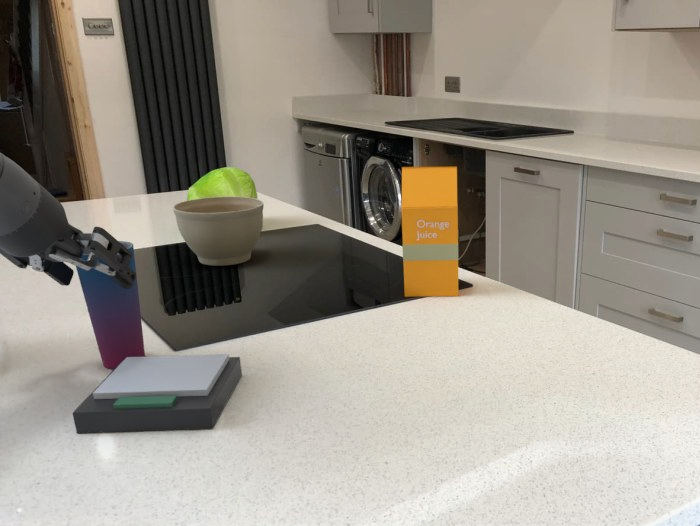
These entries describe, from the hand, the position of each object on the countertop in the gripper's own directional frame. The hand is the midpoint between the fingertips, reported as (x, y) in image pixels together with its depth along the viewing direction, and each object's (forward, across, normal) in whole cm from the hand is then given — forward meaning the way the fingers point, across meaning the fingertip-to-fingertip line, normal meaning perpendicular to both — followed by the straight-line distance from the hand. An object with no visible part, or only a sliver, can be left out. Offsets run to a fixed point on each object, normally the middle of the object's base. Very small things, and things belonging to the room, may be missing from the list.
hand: (99, 280), depth 88 cm
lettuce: (+62, +25, -45) cm, 81 cm away
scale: (+3, -12, +14) cm, 18 cm away
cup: (+10, 0, +7) cm, 12 cm away
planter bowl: (+44, +12, -27) cm, 53 cm away
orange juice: (+36, -31, -19) cm, 51 cm away
